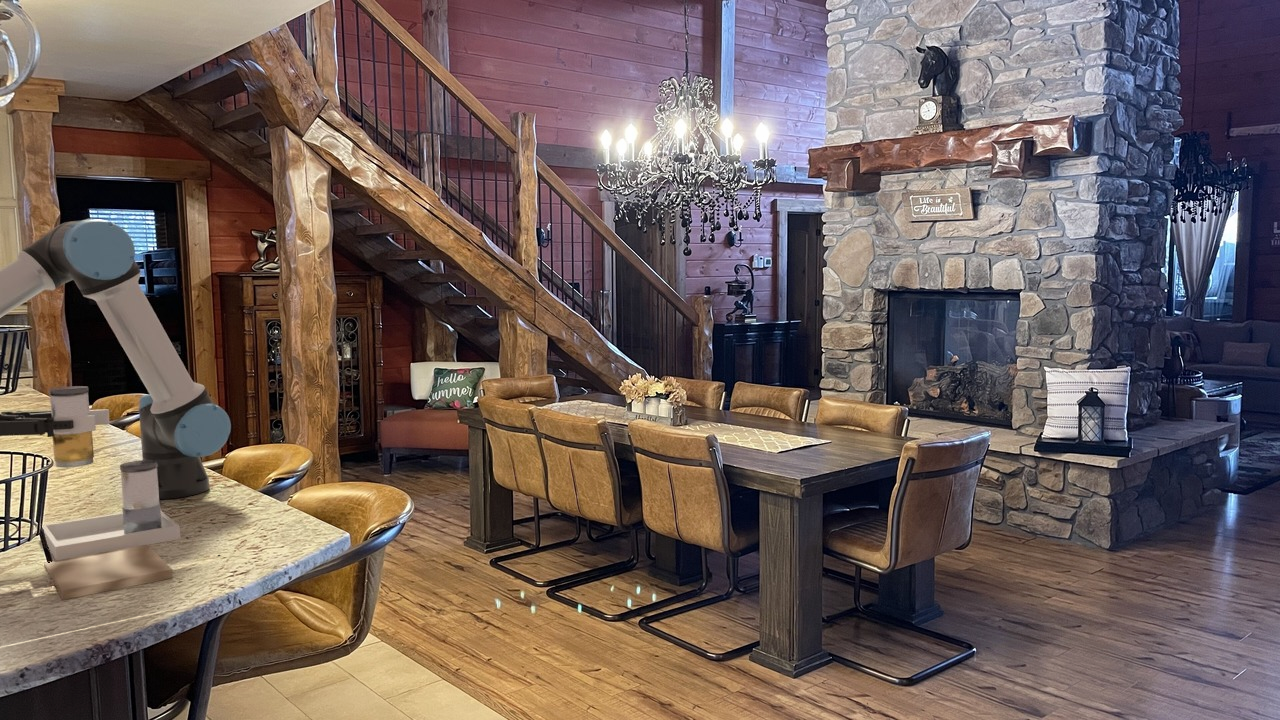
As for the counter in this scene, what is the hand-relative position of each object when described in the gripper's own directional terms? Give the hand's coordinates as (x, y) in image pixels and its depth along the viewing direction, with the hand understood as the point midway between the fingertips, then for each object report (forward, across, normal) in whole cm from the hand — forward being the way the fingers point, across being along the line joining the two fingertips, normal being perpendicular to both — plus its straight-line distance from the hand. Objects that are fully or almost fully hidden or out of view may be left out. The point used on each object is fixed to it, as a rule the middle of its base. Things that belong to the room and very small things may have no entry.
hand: (101, 419), depth 178 cm
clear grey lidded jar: (+6, 0, -22) cm, 23 cm away
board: (+6, +19, -23) cm, 31 cm away
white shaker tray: (0, 0, -24) cm, 24 cm away
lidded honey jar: (-5, 0, -8) cm, 9 cm away
